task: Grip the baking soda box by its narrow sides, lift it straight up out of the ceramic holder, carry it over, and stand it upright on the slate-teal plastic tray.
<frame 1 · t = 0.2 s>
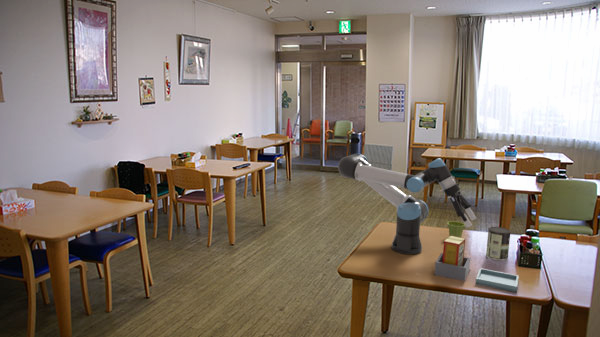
hand: (471, 223, 231), 15 cm above the table, tool tilted 35°, fingers open, 13 cm apart
tray: (497, 282, 198), on the table
coffee can: (496, 257, 228), on the table
holder: (452, 272, 207), on the table
plant pot: (454, 238, 254), on the table
baking soda box: (452, 273, 207), resting in holder
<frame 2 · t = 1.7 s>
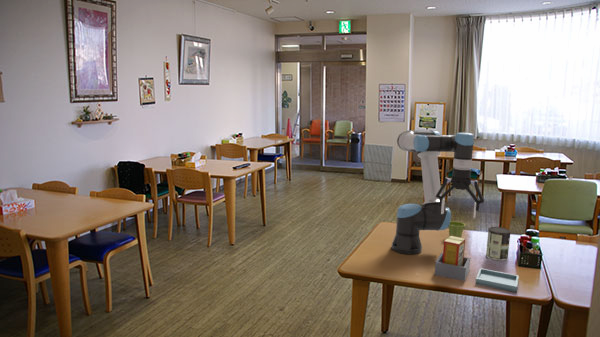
hand: (458, 215, 203), 27 cm above the table, tool pointing down, fingers open, 13 cm apart
nothing on the table moved.
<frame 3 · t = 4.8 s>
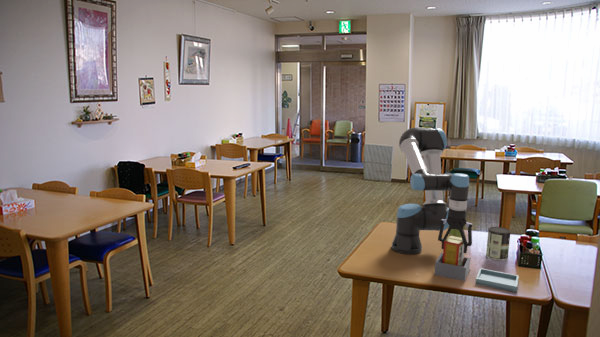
hand: (453, 257, 206), 7 cm above the table, tool pointing down, fingers closed on baking soda box, 7 cm apart
baking soda box: (452, 272, 207), resting in holder, touching gripper
everything else where it was.
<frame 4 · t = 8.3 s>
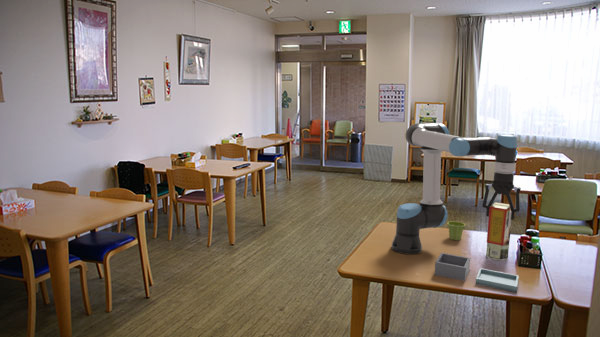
hand: (499, 225, 194), 26 cm above the table, tool pointing down, fingers closed on baking soda box, 7 cm apart
baking soda box: (497, 241, 195), point 18 cm above the table, touching gripper
everything else where it was.
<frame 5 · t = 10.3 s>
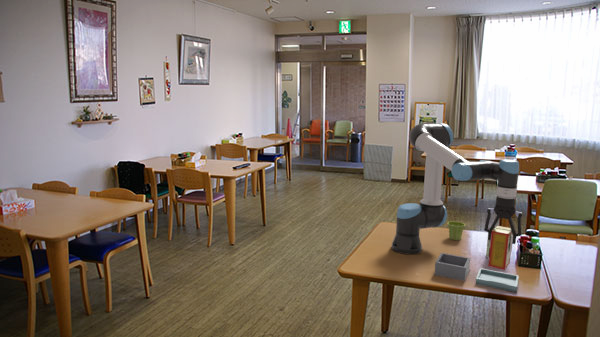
hand: (500, 248, 195), 15 cm above the table, tool pointing down, fingers closed on baking soda box, 7 cm apart
baking soda box: (499, 265, 196), point 8 cm above the table, touching gripper
everything else where it was.
when the fingers open (10 cm above the table, at t = 12.1 s): baking soda box drops 2 cm, resting on tray.
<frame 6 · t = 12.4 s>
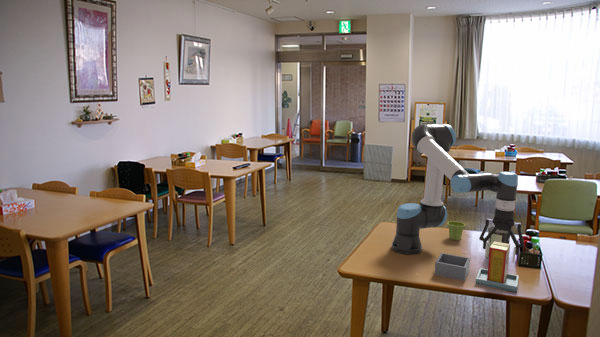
hand: (499, 258, 196), 11 cm above the table, tool pointing down, fingers open, 10 cm apart
baking soda box: (496, 280, 198), point 1 cm above the table, touching tray
everything else where it was.
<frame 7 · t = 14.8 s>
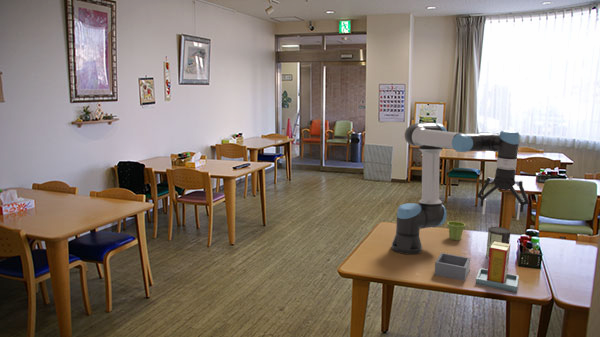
hand: (500, 216, 196), 29 cm above the table, tool pointing down, fingers open, 13 cm apart
nothing on the table moved.
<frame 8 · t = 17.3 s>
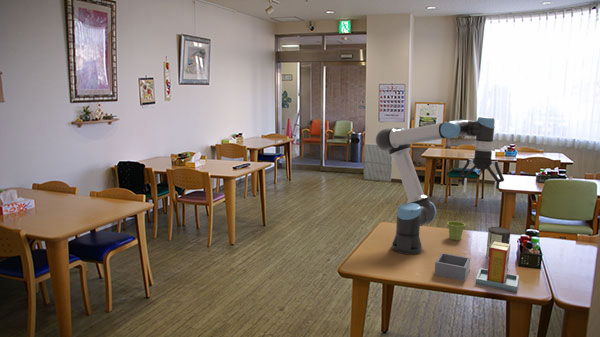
hand: (479, 193, 220), 33 cm above the table, tool pointing down, fingers open, 13 cm apart
nothing on the table moved.
at the end: baking soda box inside the target area on the tray (0.2 cm from its centre), point 0.8 cm above the tray's base; baking soda box tilted 0°; the gripper is holding nothing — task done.
